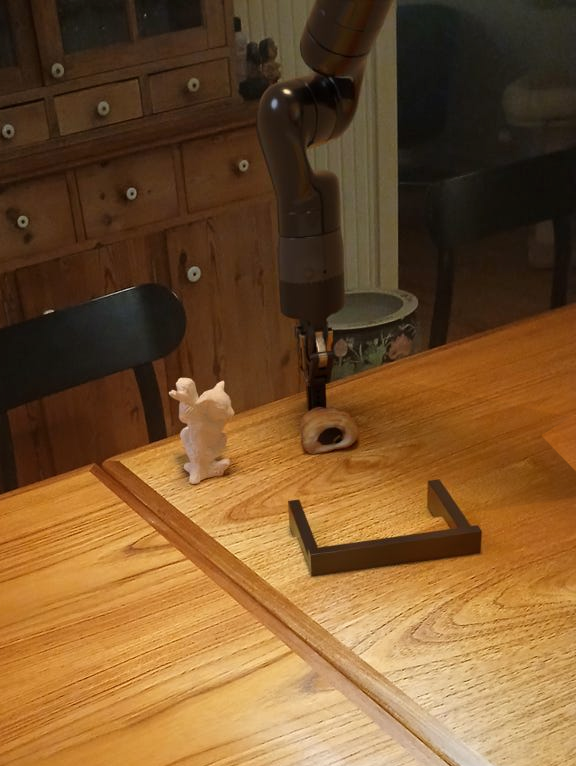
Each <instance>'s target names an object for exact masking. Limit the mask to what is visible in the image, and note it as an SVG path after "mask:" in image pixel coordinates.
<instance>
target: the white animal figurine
mask: <svg viewBox="0 0 576 766" xmlns="http://www.w3.org/2000/svg"><path fill="white" fill-rule="evenodd" d="M175 387H176V390H174V389H171V391H169V392H168V395H169V396H170V398H173V399H174V400H176V401H179V405H178V408H179V409H178V419H179V420H180V422H181V423H182V424H186V425H187V426H185V427H184V428H182V429H181V431H180V433H179V437H180V438H179V439H180V440H181V443H182V446H183V449H184V451H185V453H186V456H187V457H188V458H189V461H187V462H185V463H184V465H183V469H184V471H186V472H187V473H188V474H189V479H188V482H189V484H191V485H197V484H200V482H201V481H202V480H205V479H209V478H214V477H221V476H223V475H224V473H225V471H226V470H227V469H228V468H229V467H230V466H231V460H230V459H229V458H228V457H227V458H223V459H220V460H217V458H218V456H220V455H221V453H222V452H223V451H224V450H225V449H226V446H227V442H228V435H227V434H226V433H225V432H223V431H224V430H225V427H226V420H231V419H232V418H233V417H234V415H235V411H234V409H233V407H232V400H231V398H230V396H229V394H228V393H226V392H225V381H224V380H222V381H219V382H217V383H216V385H215V386H214V387H213V388H212V389H209V390H208V389H207V390H206V391H204V392H203V393H202V394H201V395H199V393H198V391H197V387H196V382H195V381H193V379H192V378H188V377H180V378H178V380H177V381H176V382H175Z"/></svg>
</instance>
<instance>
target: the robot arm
mask: <svg viewBox="0 0 576 766" xmlns="http://www.w3.org/2000/svg"><path fill="white" fill-rule="evenodd" d="M394 1H395V0H313V4H312V6H311V9H310V11H309V14H308V16H307V19H306V22H305V24H304V27H303V30H302V33H301V36H300V40H299V52H300V56H301V59H302V60H303V62H304V64H305V65H306V66H307V68H309V69H310V70H311V71H313V72H312V73H309V74H306V75H305V74H304V75H302V76H297V77H294V78H290V79H285V80H283V81H279V82H276V83H273V84H271V85H270V86H268V88H267V89H266V90H265V91H264V92H263V94H262V95H261V98H260V99H259V103H258V104H257V105H258V106H257V109H256V114H255V115H256V116H255V130H256V136H257V140H258V143H259V146H260V150H261V152H262V155H263V159H264V161H265V165H266V168H267V171H268V174H269V178H270V182H271V184H272V188H273V192H274V194H275V198H276V218H277V219H276V220H277V233H278V235H277V237H278V239H277V254H276V255H277V272H278V273H277V274H278V289H279V290H278V292H279V305H280V307H279V309H280V313H281V314H282V315H283V317H285V318H288V319H291V320H297V321H298V323H299V324H296V325H294V336H295V339H296V343H297V354H298V356H297V357H298V360H299V363H300V366H299V367H300V370H301V372H302V373H303V374H302V379H303V381H304V383H305V393H306V394H305V395H306V399H305V400H306V409H307V412H309V411H310V410H312V409H314V408H316V407H324V408H325V407H326V408H327V387H326V386H327V384H330V383H331V380H332V379H331V378H332V372H333V367H334V361H335V356H336V355H335V352H334V350H333V349H332V344H333V342H334V331H333V327H332V326H330V325H329V324H330V323H329V321H328V319H329V317H330V316H332V315H335V314H337V313H339V312H341V311H342V310H343V308H344V307H345V304H346V288H345V287H346V286H345V283H346V281H345V245H344V239H343V232H342V214H341V213H342V210H341V209H342V205H341V204H342V201H341V186H340V180H339V177H338V175H337V174H336V173H335V172H334V171H331V170H328V169H320V168H319V169H317V168H316V169H313V168H312V165H311V163H310V161H309V157H308V152H307V151H308V150H309V149H314V148H316V147H320V146H323V145H326V144H331V143H332V142H334V141H336V140H338V139H339V138H341V136H343V135H344V134H345V132H346V131H347V130H348V129H349V127H350V126H351V124H352V123H353V121H354V119H355V117H356V115H357V111H358V108H359V103H360V99H361V91H362V87H363V82H364V78H365V72H366V66H367V62H368V61H367V60H368V57H369V55H370V53H371V51H372V49H373V47H374V45H375V44H376V43H375V42H376V40H377V39H378V36H379V34H380V32H381V30H382V28H383V26H384V25H385V22H386V19H387V17H388V15H389V13H390V12H391V11H390V10H391V8H392V6H393V4H394Z"/></svg>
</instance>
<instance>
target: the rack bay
mask: <svg viewBox="0 0 576 766" xmlns="http://www.w3.org/2000/svg"><path fill="white" fill-rule="evenodd" d="M426 507H427V509H428V511H429V512H430V513H431V515H432V517H433V518H434V519H436V518H441V517H442V518H443V519H444V521H445V523H446V524H447V526H448V527H449V528H447V529H440V530H433V531H425V532H418V533H412V534H405V535H397V536H391V537H390V536H389V537H382V538H376V539H367V540H361V541H355V542H348V543H339V544H334V545H333V544H332V545H326V546H318V544H317V541H316V539H315V536H314V534H313V531H312V529H311V526H310V523H309V520H308V519H307V518H308V517H307V516H306V513H305V511H304V507H303V506H302V503H301V500H300V499H292V500H288V501H287V510H288V527H289V529H290V532H291V534H292V537H293V538H297V540H298V544H299V546H300V548H301V549H300V550H301V551H302V555H303V557H304V560H305V562H306V566H307V568H308V571H309V574H310V577H319V576H327V575H333V574H334V575H335V574H341V573H347V572H348V573H349V572H355V571H356V572H357V571H363V570H368V569H377V568H384V567H391V566H398V565H407V564H414V563H420V562H421V563H422V562H428V561H435V560H443V559H448V558H450V559H451V558H456V557H463V556H464V557H465V556H471V555H478V554H481V552H482V551H481V549H482V538H483V537H482V536H483V530H482V529H481V528H480V526H479V525H478V524H475V525H472V524H471V523H470V522H469V521H468V519H467V517H466V516H465V514H464V513H463V512H462V510H461V508H460V507H459V506H458V504H457V502H456V501H455V500H454V499H453V497H452V496H451V494H450V492H449V491H448V490H447V488H446V487H445V485H444V483H443V482H442V481H441V479H440V478H435V479H429V480H427V495H426Z"/></svg>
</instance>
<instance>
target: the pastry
mask: <svg viewBox="0 0 576 766" xmlns="http://www.w3.org/2000/svg"><path fill="white" fill-rule="evenodd" d="M359 433H360V432H359V429H358V424H357V423H356V422H355V421H354V418H353V417H352V416H351V415H350V414H349V413H348V412H346V411H342V409H341V408H337V407H332V406H331V407H327V406H326V407H325V408H324V407H316V408H314V409H312V410H310V411H307V412H305V413H304V415H303V416H302V418H301V421H300V423H299V427H298V434H299V435H300V437H301V439H302V440H301V441H302V447H303V449H304V450H305V452H307V453H309V454H312V455H315V454H321V453H327V452H330V451H332V450H341V449H346V448H348V447H350V446H352V445H353V444H354V443H356V441H357V438H358V436H359Z"/></svg>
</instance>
